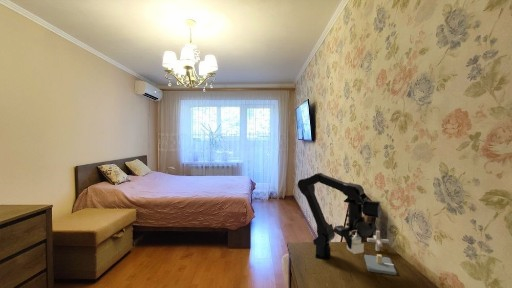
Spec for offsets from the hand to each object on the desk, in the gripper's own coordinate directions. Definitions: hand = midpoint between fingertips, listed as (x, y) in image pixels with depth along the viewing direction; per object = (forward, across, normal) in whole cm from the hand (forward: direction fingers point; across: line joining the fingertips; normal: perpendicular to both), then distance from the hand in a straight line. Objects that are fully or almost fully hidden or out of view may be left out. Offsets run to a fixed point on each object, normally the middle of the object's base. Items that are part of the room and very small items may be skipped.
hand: (354, 247), depth 110 cm
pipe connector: (+9, +22, +10) cm, 26 cm away
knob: (+1, 0, 0) cm, 1 cm away
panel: (+9, +12, -2) cm, 15 cm away
